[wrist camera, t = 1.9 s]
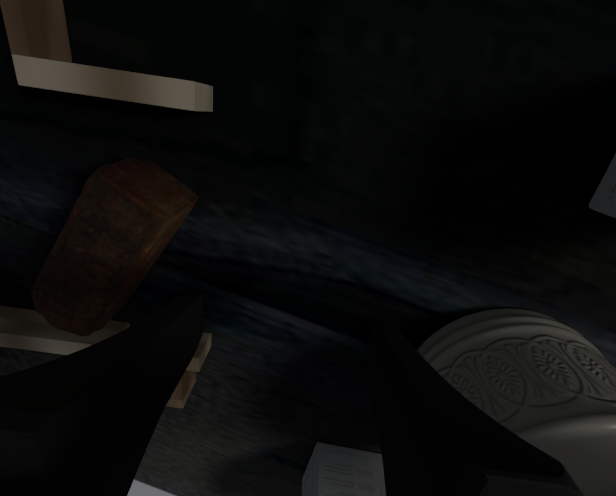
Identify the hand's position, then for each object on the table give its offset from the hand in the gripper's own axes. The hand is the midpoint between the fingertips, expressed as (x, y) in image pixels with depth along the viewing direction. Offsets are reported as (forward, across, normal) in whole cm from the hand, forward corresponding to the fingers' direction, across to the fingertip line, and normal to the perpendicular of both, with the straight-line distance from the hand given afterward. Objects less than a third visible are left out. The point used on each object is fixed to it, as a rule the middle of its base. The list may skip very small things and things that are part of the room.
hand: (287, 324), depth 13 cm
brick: (+8, +11, +1) cm, 13 cm away
